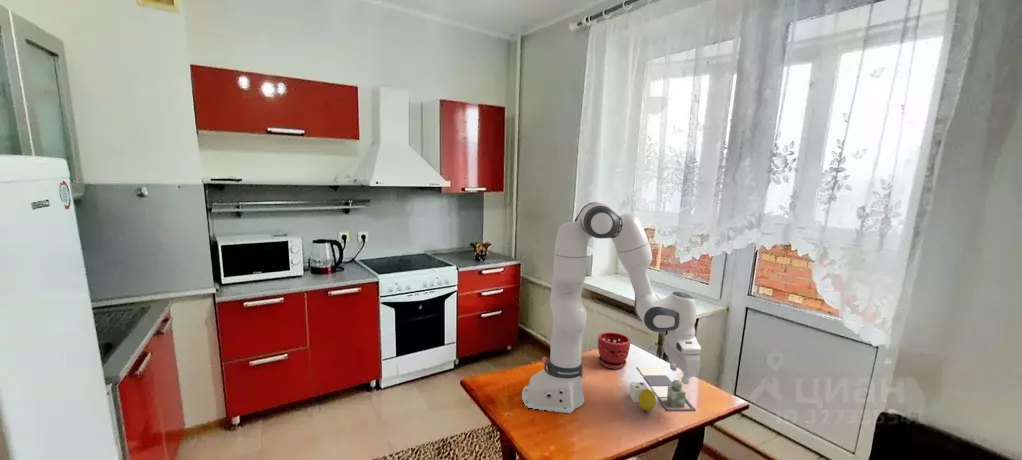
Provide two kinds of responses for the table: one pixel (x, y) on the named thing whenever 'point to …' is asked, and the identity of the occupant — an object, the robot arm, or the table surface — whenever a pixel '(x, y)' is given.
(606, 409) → the table surface
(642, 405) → the lemon
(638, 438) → the table surface
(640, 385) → the die
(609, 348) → the plant pot
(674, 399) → the pawn
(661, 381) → the board
